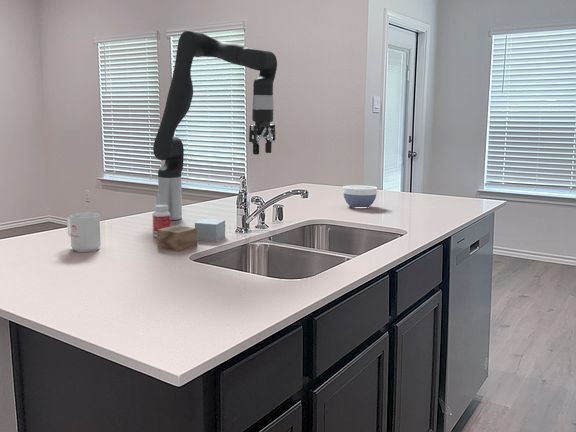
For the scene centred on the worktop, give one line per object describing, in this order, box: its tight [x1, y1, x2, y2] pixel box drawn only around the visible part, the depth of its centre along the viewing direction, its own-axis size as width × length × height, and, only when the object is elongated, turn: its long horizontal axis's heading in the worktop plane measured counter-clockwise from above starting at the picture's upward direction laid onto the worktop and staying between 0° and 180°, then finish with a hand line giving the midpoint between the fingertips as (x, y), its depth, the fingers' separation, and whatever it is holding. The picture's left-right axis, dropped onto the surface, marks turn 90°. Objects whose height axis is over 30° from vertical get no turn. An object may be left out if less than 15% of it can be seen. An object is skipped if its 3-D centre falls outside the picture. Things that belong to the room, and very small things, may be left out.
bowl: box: [342, 184, 378, 208], centre depth 275 cm, size 16×16×10 cm
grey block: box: [194, 218, 226, 243], centre depth 205 cm, size 8×8×6 cm
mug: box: [66, 212, 102, 253], centre depth 186 cm, size 12×9×11 cm
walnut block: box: [156, 224, 198, 252], centre depth 192 cm, size 9×9×6 cm
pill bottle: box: [152, 204, 172, 239], centre depth 206 cm, size 6×6×11 cm
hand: (262, 153), depth 213 cm, fingers open, 8 cm apart
